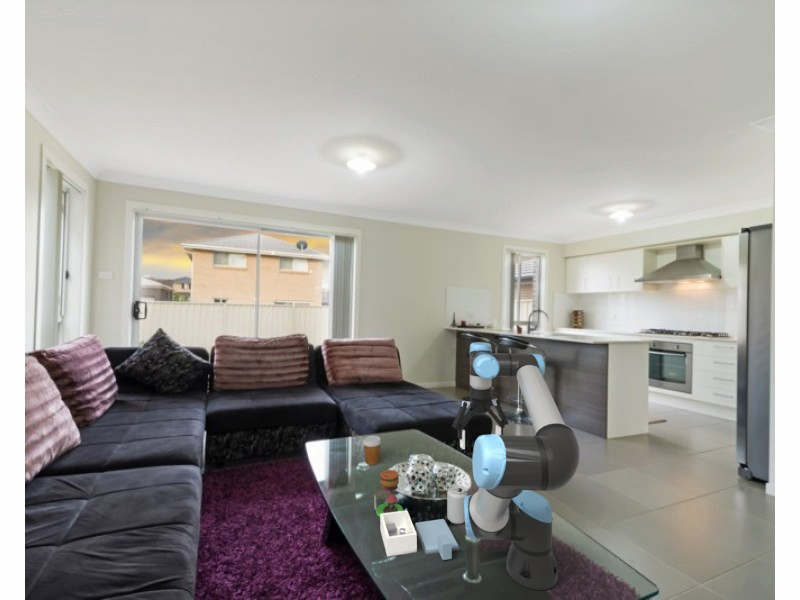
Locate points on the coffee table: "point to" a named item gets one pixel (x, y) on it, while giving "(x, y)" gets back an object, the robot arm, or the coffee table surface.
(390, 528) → the parts
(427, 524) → the lid
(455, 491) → the can
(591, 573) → the coffee table surface
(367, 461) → the disposable coffee cup
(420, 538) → the mat
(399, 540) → the tub
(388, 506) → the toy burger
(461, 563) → the coffee table surface
